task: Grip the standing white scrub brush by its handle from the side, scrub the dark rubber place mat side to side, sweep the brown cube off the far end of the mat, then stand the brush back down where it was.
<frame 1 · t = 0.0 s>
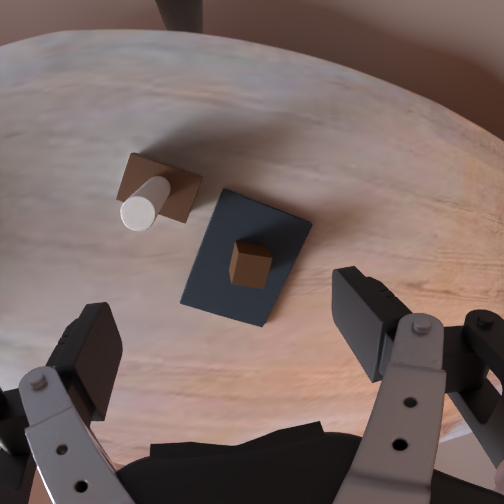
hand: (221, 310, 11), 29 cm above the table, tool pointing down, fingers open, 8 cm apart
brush: (161, 183, 37), on the table
mat: (244, 263, 42), on the table
brown cube: (247, 258, 41), point 1 cm above the table, touching mat
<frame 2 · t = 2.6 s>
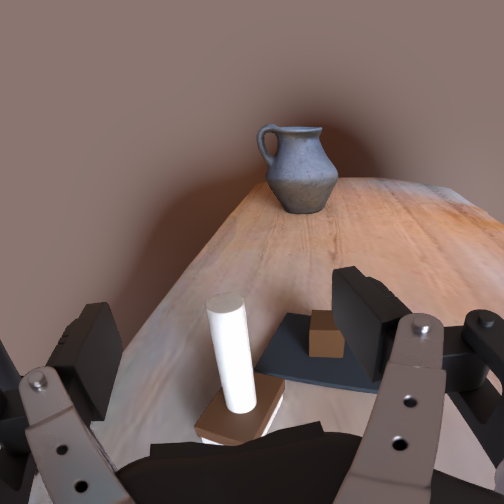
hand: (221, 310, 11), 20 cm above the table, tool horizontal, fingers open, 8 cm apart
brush: (245, 422, 29), on the table
pitcher: (301, 210, 93), on the table
mat: (334, 351, 37), on the table
brown cube: (326, 346, 37), point 1 cm above the table, touching mat
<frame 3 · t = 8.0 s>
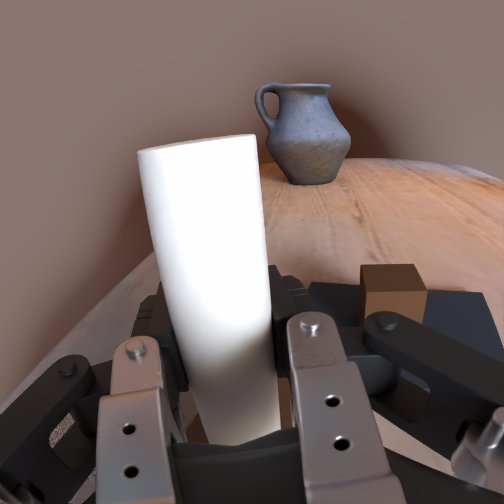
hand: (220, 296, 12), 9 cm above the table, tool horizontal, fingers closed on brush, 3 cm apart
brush: (253, 477, 13), on the table, touching gripper
pitcher: (308, 182, 77), on the table
mat: (398, 334, 21), on the table
brown cube: (386, 326, 21), point 1 cm above the table, touching mat
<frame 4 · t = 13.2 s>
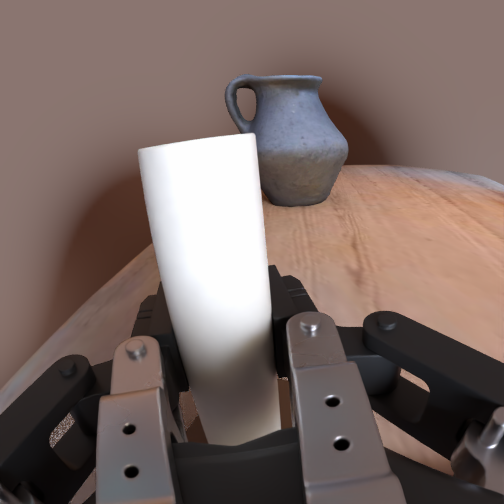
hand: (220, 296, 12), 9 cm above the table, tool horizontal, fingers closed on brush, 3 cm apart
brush: (254, 480, 12), point 1 cm above the table, touching gripper
pitcher: (293, 202, 62), on the table
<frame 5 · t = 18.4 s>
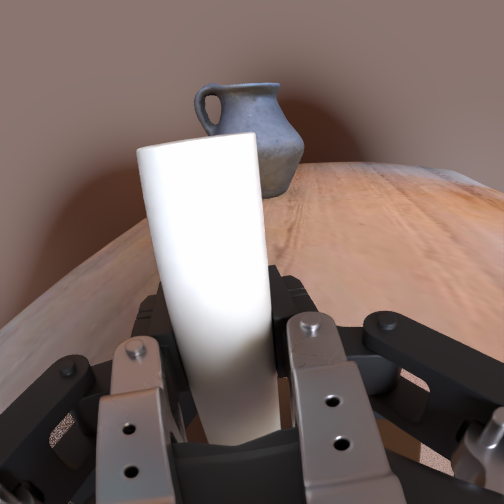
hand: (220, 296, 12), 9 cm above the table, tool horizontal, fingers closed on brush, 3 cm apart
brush: (253, 477, 12), point 1 cm above the table, touching brown cube, gripper
pitcher: (256, 195, 70), on the table
mat: (212, 467, 14), on the table
brown cube: (351, 499, 11), point 1 cm above the table, touching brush
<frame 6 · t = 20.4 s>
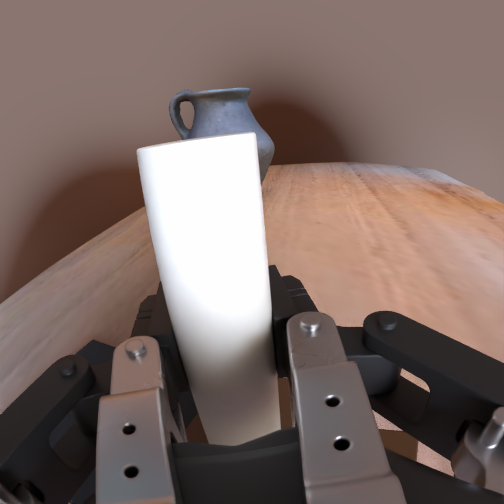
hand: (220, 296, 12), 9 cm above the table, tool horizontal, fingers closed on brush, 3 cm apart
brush: (253, 477, 12), point 1 cm above the table, touching brown cube, gripper, mat
pitcher: (229, 196, 72), on the table
mat: (117, 427, 16), on the table
when the fingers open (8 cm above the table, at t = 27.5 s): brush stays where it is, on the table.
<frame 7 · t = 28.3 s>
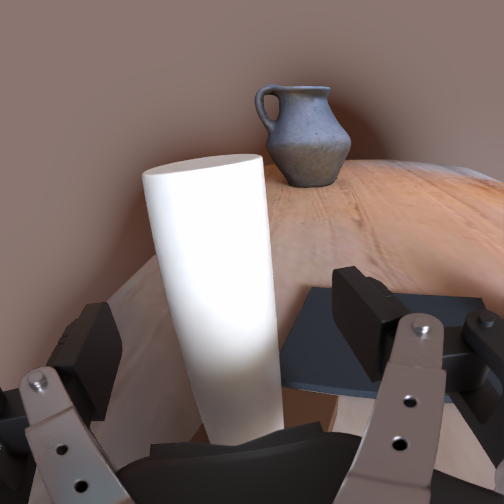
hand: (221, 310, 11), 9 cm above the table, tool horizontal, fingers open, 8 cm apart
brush: (257, 485, 12), on the table
pitcher: (308, 184, 77), on the table
mat: (398, 340, 21), on the table
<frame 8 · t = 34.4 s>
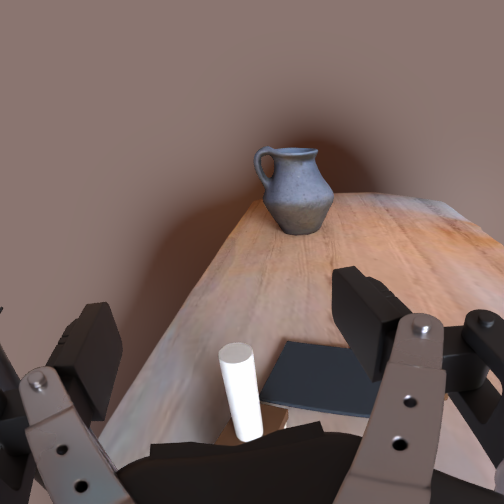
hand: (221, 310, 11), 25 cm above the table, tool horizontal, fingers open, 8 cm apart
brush: (252, 447, 31), on the table
pitcher: (297, 230, 95), on the table
mat: (331, 378, 39), on the table
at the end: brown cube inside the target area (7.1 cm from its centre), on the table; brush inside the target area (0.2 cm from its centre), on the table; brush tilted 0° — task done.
